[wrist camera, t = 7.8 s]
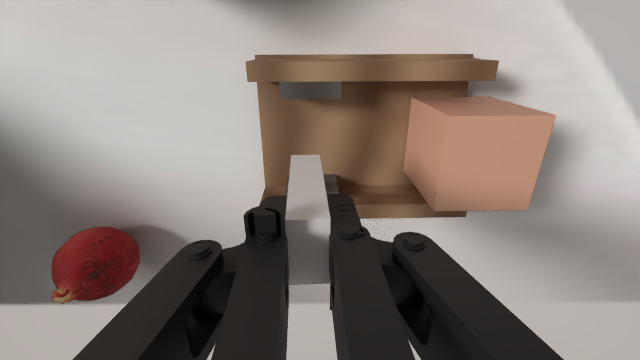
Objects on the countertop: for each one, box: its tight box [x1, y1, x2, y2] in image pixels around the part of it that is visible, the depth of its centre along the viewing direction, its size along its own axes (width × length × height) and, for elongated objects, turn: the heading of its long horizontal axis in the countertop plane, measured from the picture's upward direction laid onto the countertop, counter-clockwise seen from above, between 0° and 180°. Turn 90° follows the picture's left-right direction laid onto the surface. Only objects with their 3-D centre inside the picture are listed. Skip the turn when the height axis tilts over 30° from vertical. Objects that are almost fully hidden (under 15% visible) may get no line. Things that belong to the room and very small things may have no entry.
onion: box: [52, 227, 140, 304], centre depth 26 cm, size 6×6×8 cm
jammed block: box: [403, 97, 556, 211], centre depth 21 cm, size 6×6×7 cm
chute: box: [246, 54, 499, 218], centre depth 24 cm, size 16×12×4 cm
